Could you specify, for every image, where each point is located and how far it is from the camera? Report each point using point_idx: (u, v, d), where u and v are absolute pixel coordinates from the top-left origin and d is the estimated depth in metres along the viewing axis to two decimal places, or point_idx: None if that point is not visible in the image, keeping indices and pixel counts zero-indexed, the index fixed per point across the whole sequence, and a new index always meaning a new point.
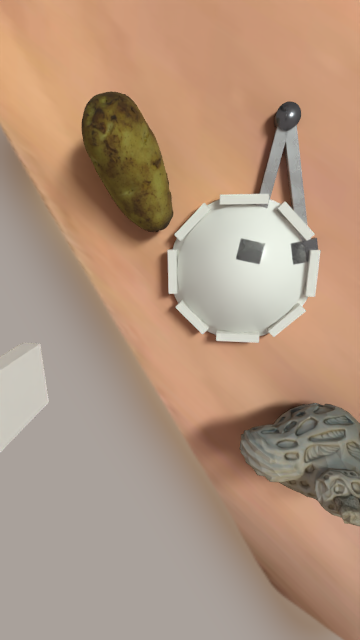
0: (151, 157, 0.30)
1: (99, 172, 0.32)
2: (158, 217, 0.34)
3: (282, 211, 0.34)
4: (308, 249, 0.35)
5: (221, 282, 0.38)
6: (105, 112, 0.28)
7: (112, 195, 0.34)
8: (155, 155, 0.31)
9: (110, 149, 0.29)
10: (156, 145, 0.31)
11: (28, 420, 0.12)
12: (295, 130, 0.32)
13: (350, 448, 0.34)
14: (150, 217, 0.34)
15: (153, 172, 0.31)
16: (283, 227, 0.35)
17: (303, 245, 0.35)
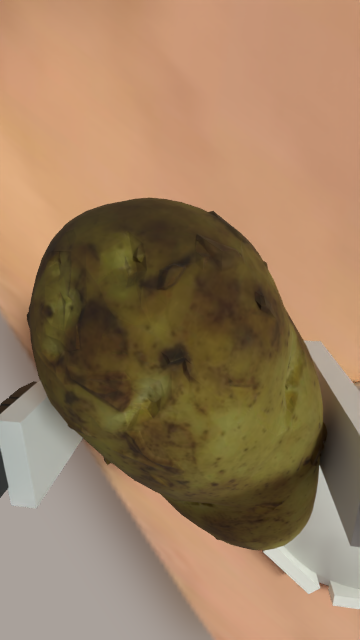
0: (305, 450, 0.08)
1: None
2: (278, 546, 0.11)
3: None
4: None
5: None
6: (132, 328, 0.05)
7: None
8: (317, 435, 0.08)
9: (149, 459, 0.07)
10: (319, 393, 0.08)
11: None
12: None
13: None
14: (254, 547, 0.11)
15: (299, 481, 0.08)
16: None
17: None
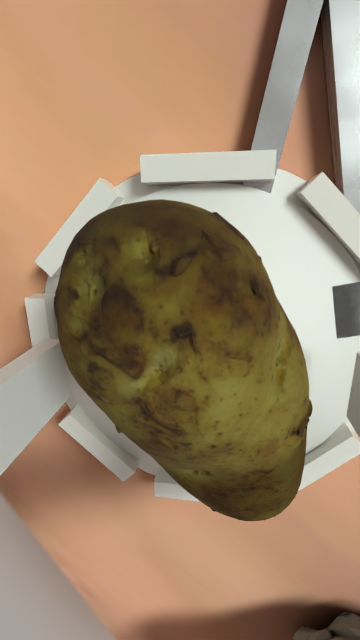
0: (292, 421, 0.09)
1: None
2: (268, 516, 0.12)
3: (314, 201, 0.12)
4: None
5: None
6: (147, 307, 0.07)
7: None
8: (303, 409, 0.09)
9: (158, 422, 0.08)
10: (306, 372, 0.09)
11: (52, 413, 0.13)
12: None
13: None
14: (247, 516, 0.12)
15: (287, 450, 0.10)
16: (314, 244, 0.13)
17: None
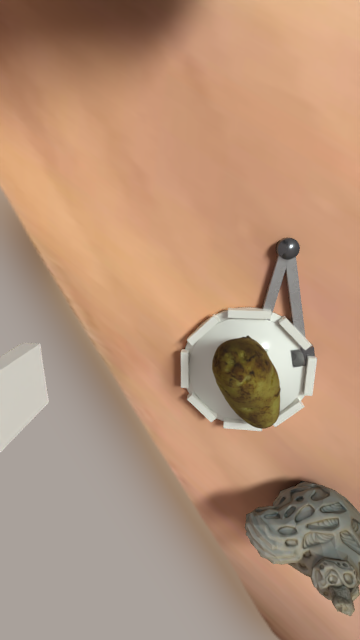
0: (275, 392, 0.35)
1: (223, 391, 0.37)
2: (269, 424, 0.39)
3: (283, 325, 0.39)
4: (306, 355, 0.40)
5: None
6: (244, 367, 0.33)
7: (228, 402, 0.39)
8: (277, 389, 0.36)
9: (244, 391, 0.34)
10: (278, 380, 0.36)
11: (28, 420, 0.12)
12: (294, 259, 0.37)
13: (343, 535, 0.38)
14: (262, 424, 0.39)
15: (273, 400, 0.36)
16: (284, 337, 0.40)
17: (301, 352, 0.40)
